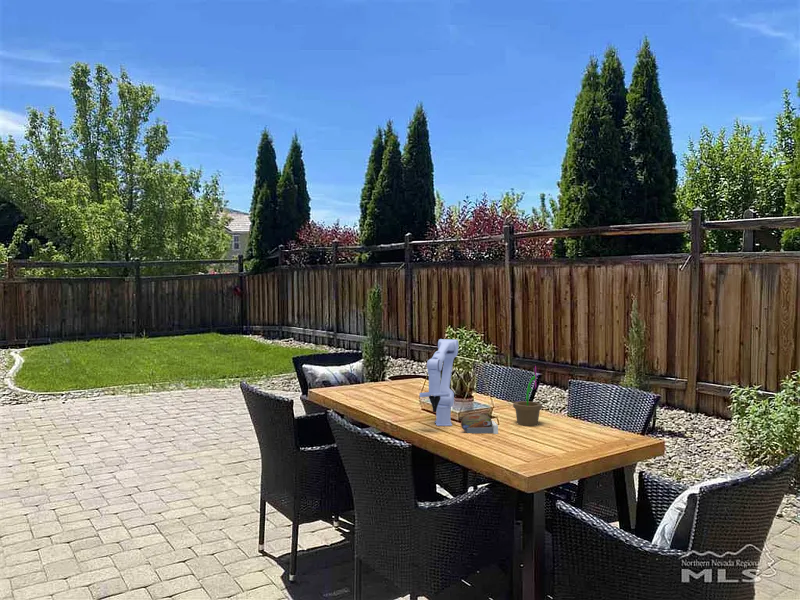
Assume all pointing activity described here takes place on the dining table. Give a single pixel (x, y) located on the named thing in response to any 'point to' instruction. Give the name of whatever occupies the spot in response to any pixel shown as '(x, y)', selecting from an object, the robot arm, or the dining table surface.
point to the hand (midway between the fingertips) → (434, 411)
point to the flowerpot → (528, 409)
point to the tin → (475, 421)
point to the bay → (484, 429)
